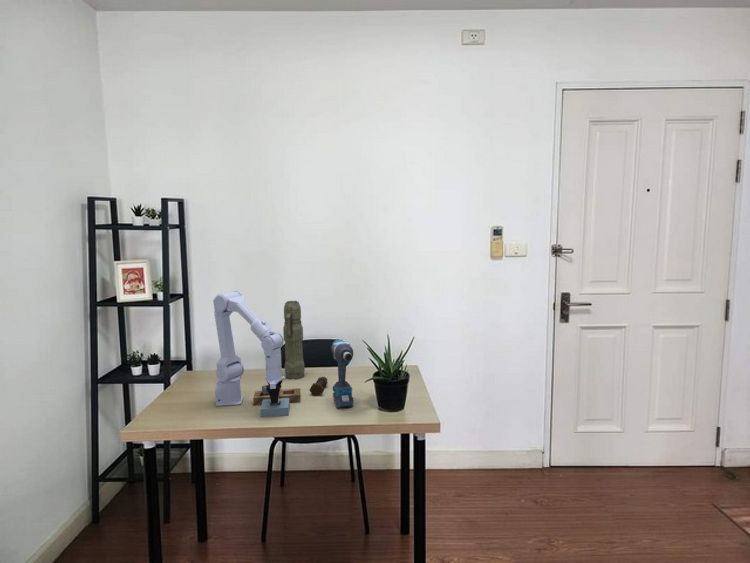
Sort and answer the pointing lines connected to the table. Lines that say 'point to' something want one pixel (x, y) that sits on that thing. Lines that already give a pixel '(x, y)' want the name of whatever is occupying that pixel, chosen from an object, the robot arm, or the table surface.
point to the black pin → (264, 391)
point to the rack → (284, 393)
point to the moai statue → (293, 341)
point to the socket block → (275, 408)
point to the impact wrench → (342, 374)
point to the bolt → (318, 386)
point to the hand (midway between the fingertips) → (275, 401)
